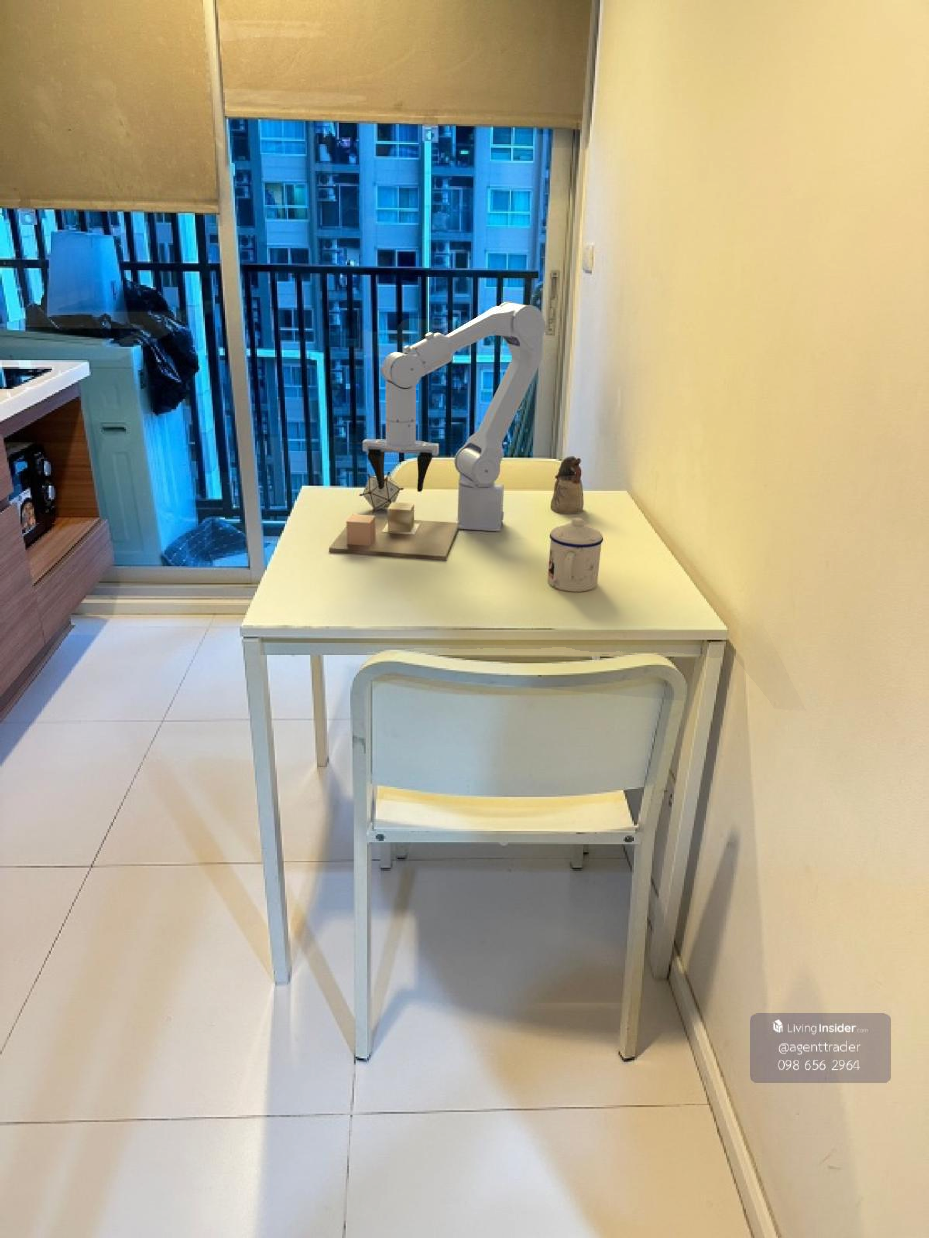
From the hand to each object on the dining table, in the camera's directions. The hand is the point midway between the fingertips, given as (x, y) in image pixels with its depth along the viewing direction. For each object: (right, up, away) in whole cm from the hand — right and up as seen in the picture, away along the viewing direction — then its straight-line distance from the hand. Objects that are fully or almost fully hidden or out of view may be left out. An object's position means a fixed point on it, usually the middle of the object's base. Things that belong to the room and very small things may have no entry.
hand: (400, 489), depth 163 cm
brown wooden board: (-1, -10, 0) cm, 10 cm away
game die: (-5, -2, +17) cm, 18 cm away
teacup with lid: (+31, -20, -19) cm, 42 cm away
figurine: (+35, -1, +22) cm, 41 cm away
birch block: (0, -7, +3) cm, 8 cm away
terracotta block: (-7, -11, -4) cm, 13 cm away
